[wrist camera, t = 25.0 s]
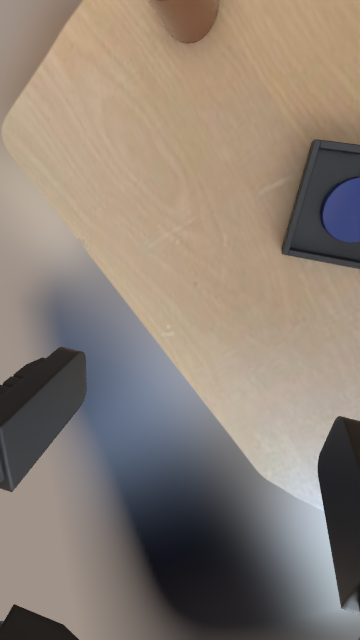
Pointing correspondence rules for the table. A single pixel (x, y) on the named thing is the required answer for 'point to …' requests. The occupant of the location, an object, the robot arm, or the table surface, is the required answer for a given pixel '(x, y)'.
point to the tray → (318, 179)
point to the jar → (186, 17)
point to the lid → (342, 211)
